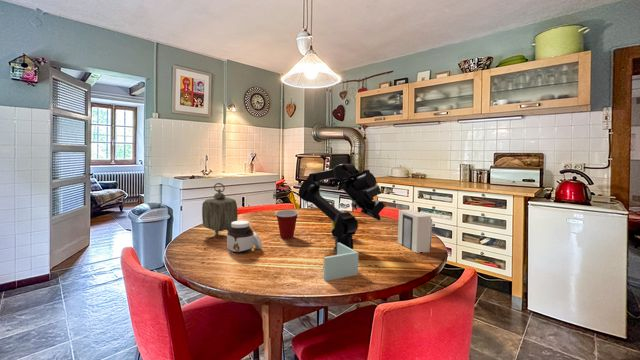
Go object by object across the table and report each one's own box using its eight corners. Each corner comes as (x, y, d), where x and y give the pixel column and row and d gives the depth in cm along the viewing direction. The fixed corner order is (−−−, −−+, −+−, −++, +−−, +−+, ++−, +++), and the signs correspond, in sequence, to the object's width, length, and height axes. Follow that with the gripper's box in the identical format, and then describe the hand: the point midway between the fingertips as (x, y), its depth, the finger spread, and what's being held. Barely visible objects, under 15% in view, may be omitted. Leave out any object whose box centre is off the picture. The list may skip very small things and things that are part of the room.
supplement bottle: (340, 239, 136) (341, 211, 135) (328, 236, 140) (329, 209, 139) (348, 236, 141) (348, 209, 140) (336, 233, 145) (337, 207, 144)
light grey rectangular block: (410, 249, 122) (411, 220, 121) (403, 245, 127) (404, 217, 126) (430, 247, 125) (432, 219, 124) (423, 243, 130) (424, 216, 129)
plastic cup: (270, 239, 134) (270, 213, 133) (280, 233, 145) (280, 209, 143) (293, 241, 131) (293, 215, 130) (301, 235, 141) (302, 210, 140)
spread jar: (224, 251, 117) (223, 222, 116) (244, 244, 127) (243, 217, 126) (247, 257, 111) (247, 226, 110) (266, 248, 121) (266, 220, 120)
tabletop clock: (237, 236, 138) (237, 183, 136) (222, 241, 131) (221, 185, 128) (217, 232, 146) (216, 181, 144) (201, 236, 138) (199, 182, 136)
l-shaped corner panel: (338, 262, 107) (339, 242, 106) (357, 275, 96) (358, 252, 96) (308, 268, 102) (308, 247, 101) (325, 282, 91) (325, 258, 90)
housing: (416, 253, 118) (417, 216, 117) (397, 242, 131) (398, 210, 130) (429, 251, 119) (430, 216, 118) (409, 241, 133) (410, 209, 132)
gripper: (381, 180, 109) (405, 208, 113) (358, 176, 126) (380, 201, 131) (361, 202, 107) (386, 230, 111) (341, 195, 124) (363, 220, 129)
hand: (379, 219), depth 120 cm, fingers closed
